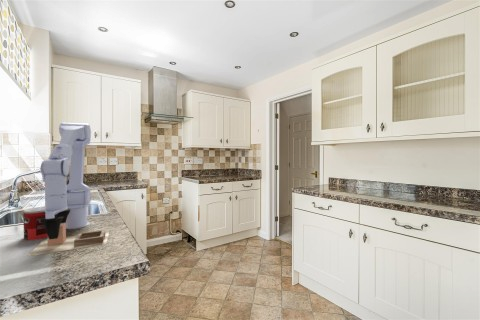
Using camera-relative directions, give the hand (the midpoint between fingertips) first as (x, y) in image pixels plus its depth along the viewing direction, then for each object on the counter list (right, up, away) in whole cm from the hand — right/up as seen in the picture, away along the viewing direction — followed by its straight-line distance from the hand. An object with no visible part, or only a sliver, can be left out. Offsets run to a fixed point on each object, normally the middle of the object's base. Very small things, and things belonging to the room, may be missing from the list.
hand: (56, 234), depth 77 cm
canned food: (-12, -4, +7) cm, 14 cm away
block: (0, -3, 0) cm, 3 cm away
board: (+5, -4, 0) cm, 6 cm away
